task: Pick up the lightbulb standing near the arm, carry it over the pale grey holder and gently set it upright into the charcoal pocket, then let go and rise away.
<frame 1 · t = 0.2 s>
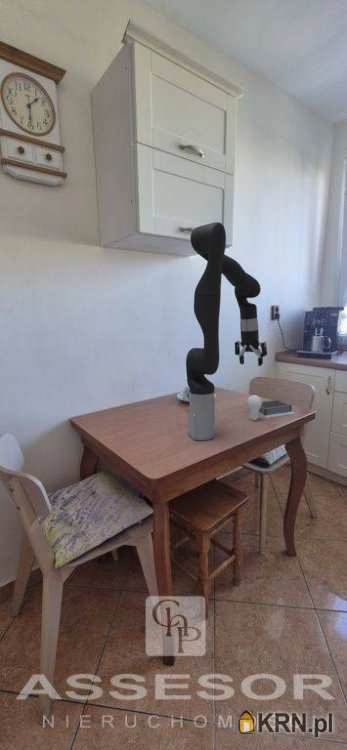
hand: (251, 364, 141), 22 cm above the table, tool pointing down, fingers open, 8 cm apart
lightbulb: (254, 420, 135), on the table
bulb holder: (271, 411, 146), on the table
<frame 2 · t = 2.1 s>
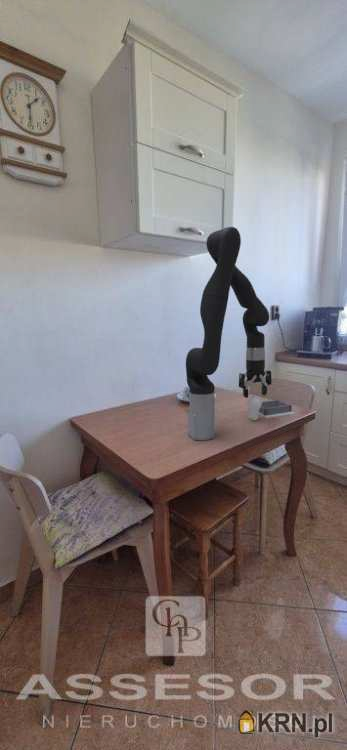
hand: (255, 396, 133), 11 cm above the table, tool pointing down, fingers open, 8 cm apart
nothing on the table moved.
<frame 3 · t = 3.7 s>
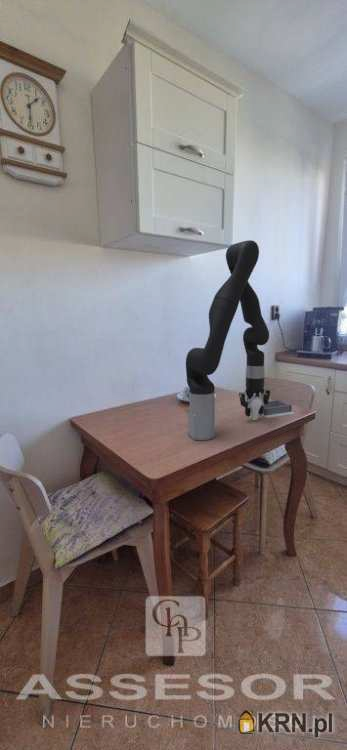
hand: (254, 414, 134), 2 cm above the table, tool pointing down, fingers closed on lightbulb, 5 cm apart
lightbulb: (254, 420, 135), on the table, touching gripper
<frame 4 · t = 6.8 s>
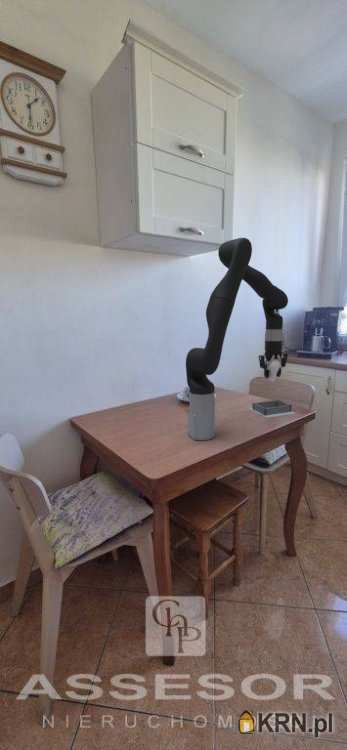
hand: (272, 376, 143), 16 cm above the table, tool pointing down, fingers closed on lightbulb, 5 cm apart
lightbulb: (272, 382, 144), point 14 cm above the table, touching gripper
when the fingers open (3 cm above the table, at t = 10.1 s): lightbulb stays where it is, resting on bulb holder.
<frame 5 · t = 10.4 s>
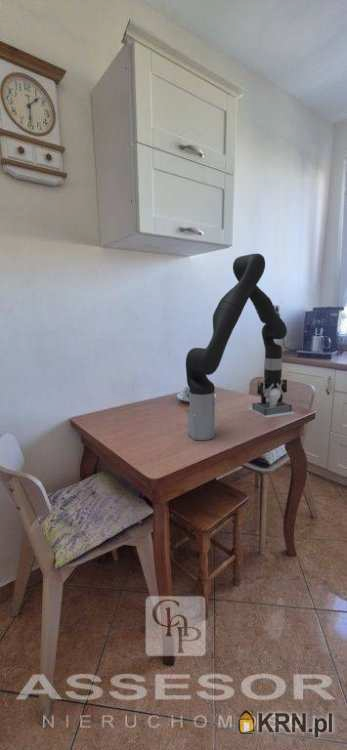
hand: (271, 402, 145), 4 cm above the table, tool pointing down, fingers open, 8 cm apart
lightbulb: (272, 410, 146), resting on bulb holder
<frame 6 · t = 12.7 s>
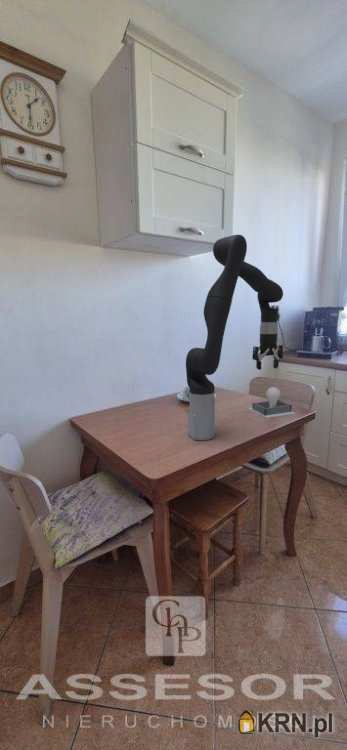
hand: (267, 368, 143), 20 cm above the table, tool pointing down, fingers open, 8 cm apart
nothing on the table moved.
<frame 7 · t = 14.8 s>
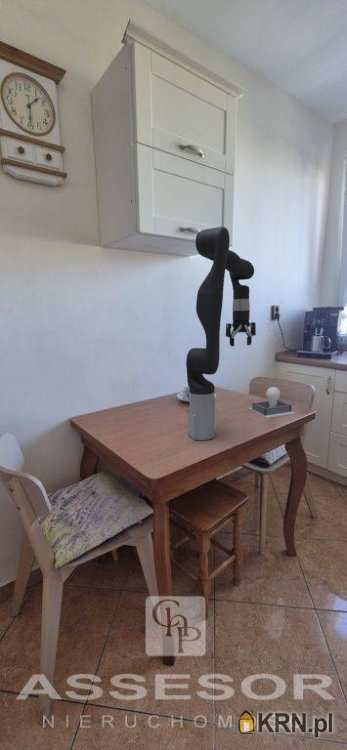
hand: (240, 345, 146), 30 cm above the table, tool pointing down, fingers open, 8 cm apart
nothing on the table moved.
at the end: lightbulb 0.4 cm off-centre on the bulb holder, point 0.2 cm above the bulb holder's base; lightbulb tilted 0°; the gripper is holding nothing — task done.
